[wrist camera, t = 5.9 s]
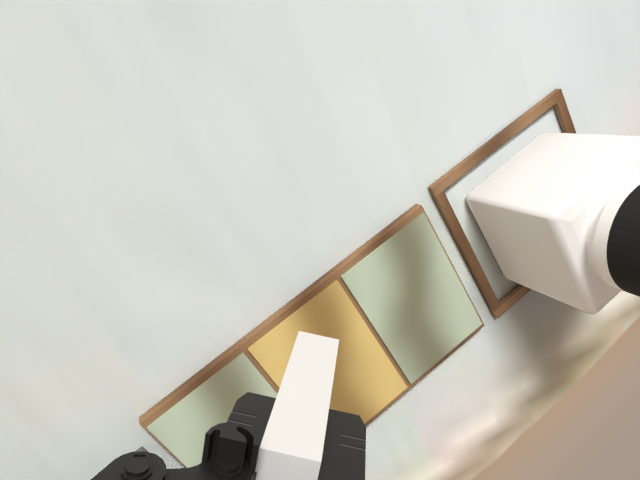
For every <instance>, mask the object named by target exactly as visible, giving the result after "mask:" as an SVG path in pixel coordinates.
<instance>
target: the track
mask: <svg viewBox="0 0 640 480" xmlns="http://www.w3.org/2000/svg"><path fill="white" fill-rule="evenodd" d="M483 326H484V324H483V322H482V320H481V318H480V316H479V314H478V312H477V310H476V309H475V307H474V305H473V303H472V301H471V299H470V297H469V295H468V293H467V291H466V289H465V288H464V286H463V284H462V282H461V280H460V278H459V276H458V274H457V272H456V270H455V268H454V266H453V265H452V263H451V261H450V259H449V257H448V255H447V253H446V251H445V249H444V247H443V245H442V244H441V242H440V240H439V238H438V236H437V234H436V232H435V230H434V228H433V226H432V224H431V222H430V221H429V219H428V217H427V215H426V213H425V211H424V209H423V207H422V206H421V205H418V204H415V205H414V206H413V207H412V208H410V209H409V210H408V211H406V212H405V213H404V214H402V215H401V216H400V217H399V218H397V219H396V220H395V221H393V222H392V223H391V224H390V225H388V226H387V227H386V228H384V229H383V230H382V231H380V232H379V233H378V234H377V235H375V236H374V237H373V238H371V239H370V240H369V241H367V242H366V243H365V244H364V245H362V246H361V247H360V248H358V249H357V250H356V251H354V252H353V253H352V254H351V255H349V256H348V257H347V258H345V259H344V260H343V261H342V262H340V263H339V264H338V265H336V266H335V267H334V268H332V269H331V270H330V271H329V272H327V273H326V274H325V275H323V276H322V277H321V278H319V279H318V280H317V281H316V282H314V283H313V284H312V285H310V286H309V287H308V288H306V289H305V290H304V291H303V292H301V293H300V294H299V295H297V296H296V297H295V298H293V299H292V300H291V301H290V302H288V303H287V304H286V305H284V306H283V307H282V308H281V309H279V310H278V311H277V312H275V313H274V314H273V315H271V316H270V317H269V318H268V319H266V320H265V321H264V322H262V323H261V324H260V325H258V326H257V327H256V328H255V329H253V330H252V331H251V332H249V333H248V334H247V335H245V336H244V337H243V338H242V339H240V340H239V341H238V342H236V343H235V344H234V345H233V346H231V347H230V348H229V349H227V350H226V351H225V352H223V353H222V354H221V355H220V356H218V357H217V358H216V359H214V360H213V361H212V362H210V363H209V364H208V365H207V366H205V367H204V368H203V369H201V370H200V371H199V372H197V373H196V374H195V375H194V376H192V377H191V378H190V379H188V380H187V381H186V382H185V383H183V384H182V385H181V386H179V387H178V388H177V389H175V390H174V391H173V392H172V393H170V394H169V395H168V396H166V397H165V398H164V399H162V400H161V401H160V402H159V403H157V404H156V405H155V406H153V407H152V408H151V409H149V410H148V411H147V412H146V413H144V414H143V415H142V416H140V417H139V421H140V425H141V426H143V427H144V428H145V429H146V430H147V431H148V432H149V433H150V434H151V435H152V436H153V437H154V438H155V439H156V440H157V441H158V442H159V443H160V444H161V445H162V446H163V447H164V448H165V449H166V450H167V451H168V452H169V453H170V454H171V455H172V456H173V457H174V458H175V459H176V460H177V461H179V462H180V463H181V464H182V465H183V466H184V467H185V468H189V467H193V466H196V465H198V464H200V463H201V462H202V455H203V448H204V441H205V434H206V432H207V431H208V430H209V429H210V428H211V427H213V426H215V425H217V424H220V423H226V422H227V421H228V418H229V416H230V414H231V412H232V410H233V407H234V405H235V403H236V401H237V399H239V398H240V397H242V396H243V395H244V394H246V393H247V392H251V393H255V394H260V395H264V396H269V397H273V398H276V397H277V395H278V392H279V389H280V386H281V383H282V380H283V377H284V374H285V371H286V368H287V365H288V362H289V359H290V356H291V353H292V350H293V347H294V344H295V341H296V338H297V335H298V332H299V331H301V332H306V333H311V334H315V335H320V336H325V337H329V338H334V339H339V345H338V351H337V358H336V365H335V372H334V379H333V386H332V392H331V399H330V406H329V409H333V410H337V411H342V412H346V413H351V414H355V415H360V417H361V419H362V421H363V423H364V425H365V426H367V425H368V424H369V423H370V422H372V421H373V420H374V419H375V418H376V417H378V416H379V415H380V414H381V413H382V412H383V411H385V410H386V409H387V408H388V407H389V406H390V405H392V404H393V403H394V402H395V401H396V400H398V399H399V398H400V397H401V396H402V395H403V394H405V393H406V392H407V391H408V390H409V389H410V388H412V387H413V386H414V385H415V384H416V383H417V382H419V381H420V380H421V379H422V378H423V377H425V376H426V375H427V374H428V373H429V372H430V371H432V370H433V369H434V368H435V367H436V366H437V365H439V364H440V363H441V362H442V361H443V360H445V359H446V358H447V357H448V356H449V355H450V354H452V353H453V352H454V351H455V350H456V349H457V348H459V347H460V346H461V345H462V344H463V343H465V342H466V341H467V340H468V339H469V338H470V337H472V336H473V335H474V334H475V333H476V332H477V331H479V330H480V329H481V328H482V327H483Z"/></svg>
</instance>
